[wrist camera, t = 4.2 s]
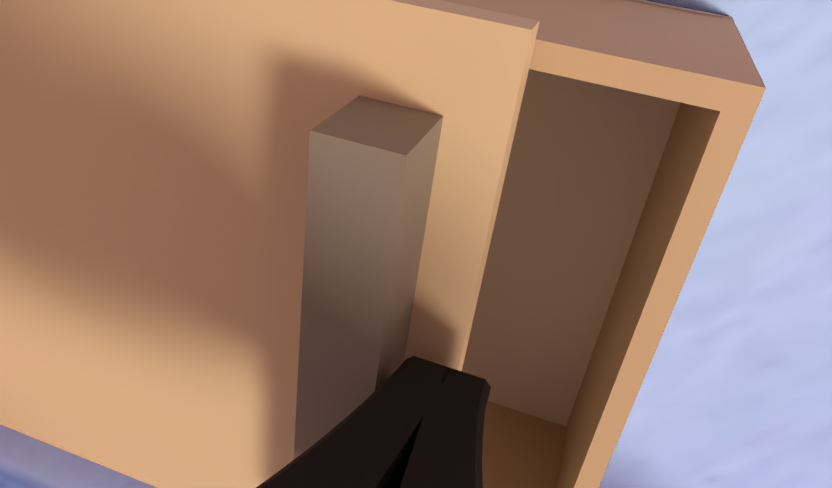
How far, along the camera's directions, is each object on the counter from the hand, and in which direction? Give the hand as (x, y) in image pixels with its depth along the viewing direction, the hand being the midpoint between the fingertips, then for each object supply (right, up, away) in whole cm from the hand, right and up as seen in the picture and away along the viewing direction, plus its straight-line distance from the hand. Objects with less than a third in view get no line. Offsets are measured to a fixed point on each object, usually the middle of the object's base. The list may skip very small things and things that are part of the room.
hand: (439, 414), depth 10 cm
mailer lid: (-5, +2, +2) cm, 6 cm away
